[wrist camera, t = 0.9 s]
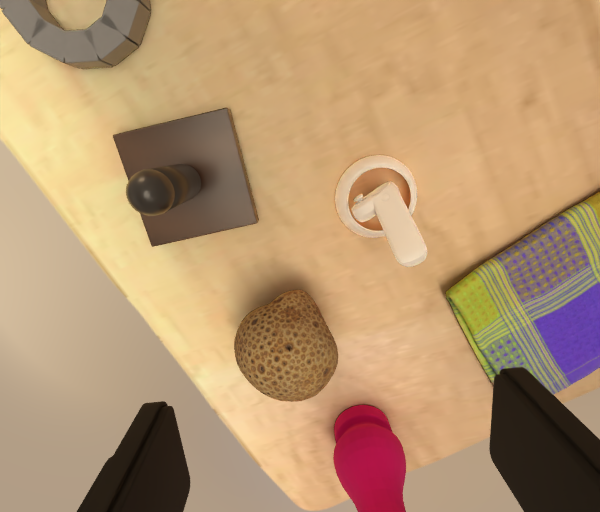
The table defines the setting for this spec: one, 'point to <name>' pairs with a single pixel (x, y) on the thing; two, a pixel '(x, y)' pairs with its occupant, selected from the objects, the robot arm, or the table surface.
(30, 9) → the grey ring
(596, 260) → the dish towel
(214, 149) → the spindle
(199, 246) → the table surface
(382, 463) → the pepper mill
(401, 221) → the white lever handle
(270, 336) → the natural sponge
